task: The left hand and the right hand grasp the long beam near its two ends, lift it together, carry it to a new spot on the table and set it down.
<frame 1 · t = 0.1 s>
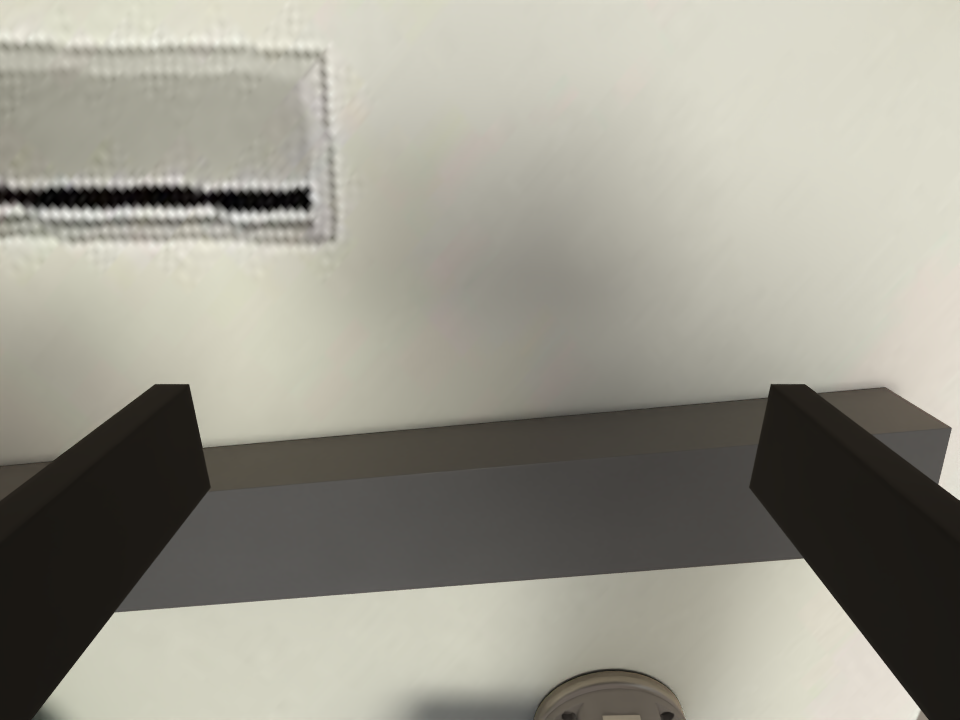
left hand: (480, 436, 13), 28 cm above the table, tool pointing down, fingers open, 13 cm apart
long beam: (405, 484, 46), on the table
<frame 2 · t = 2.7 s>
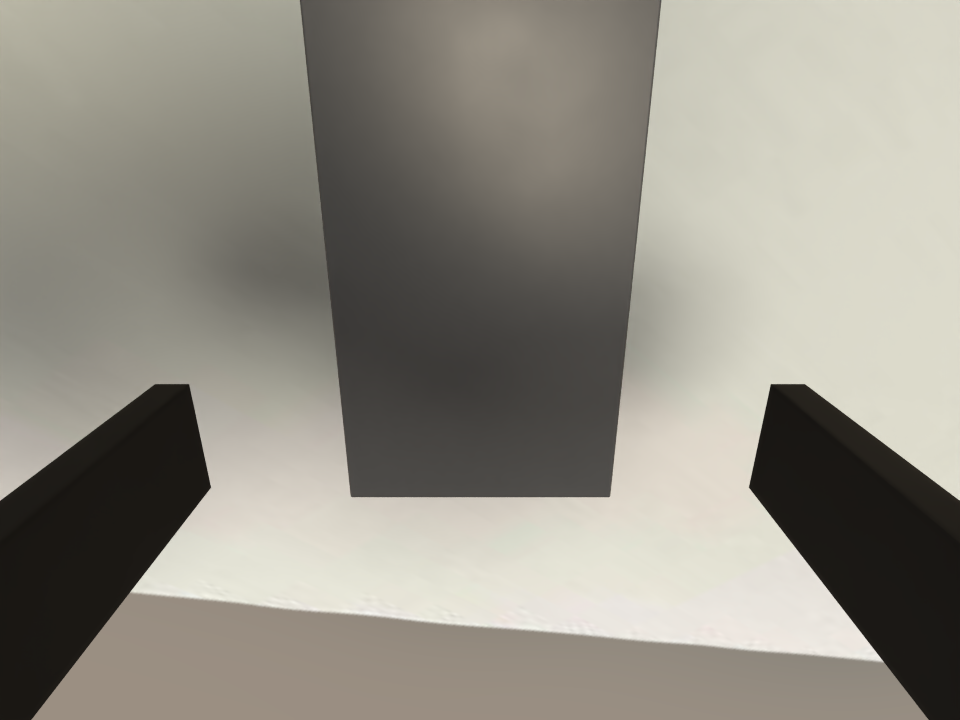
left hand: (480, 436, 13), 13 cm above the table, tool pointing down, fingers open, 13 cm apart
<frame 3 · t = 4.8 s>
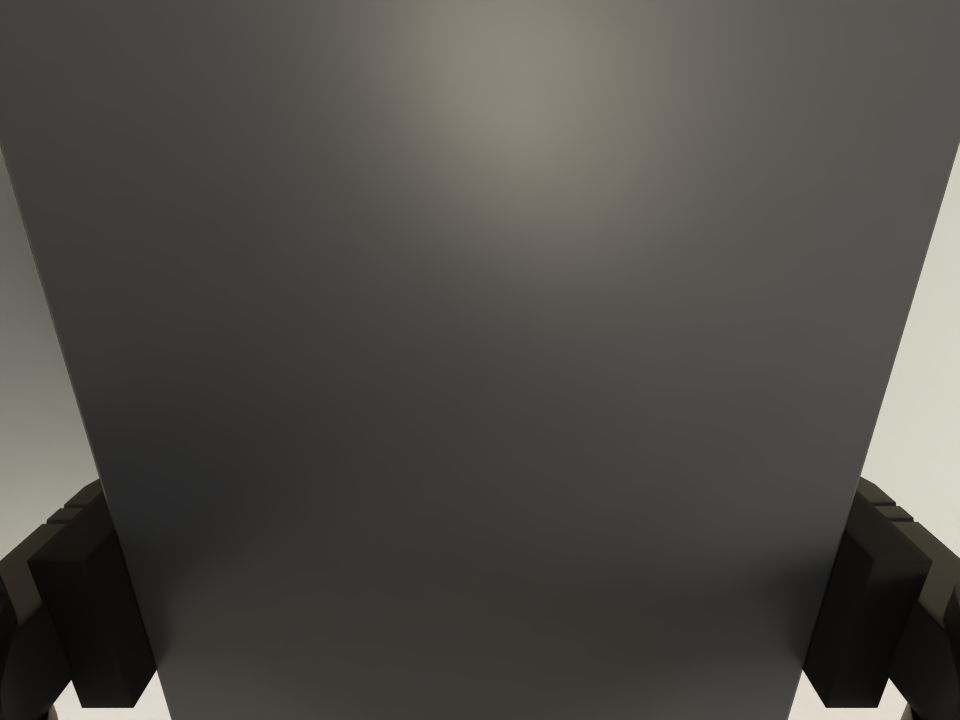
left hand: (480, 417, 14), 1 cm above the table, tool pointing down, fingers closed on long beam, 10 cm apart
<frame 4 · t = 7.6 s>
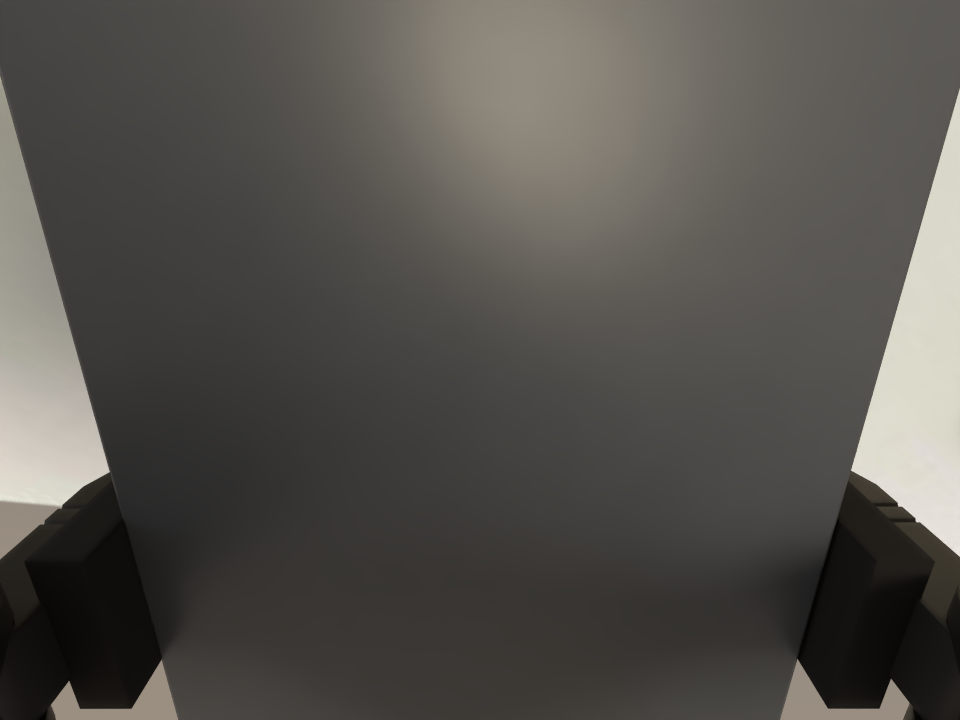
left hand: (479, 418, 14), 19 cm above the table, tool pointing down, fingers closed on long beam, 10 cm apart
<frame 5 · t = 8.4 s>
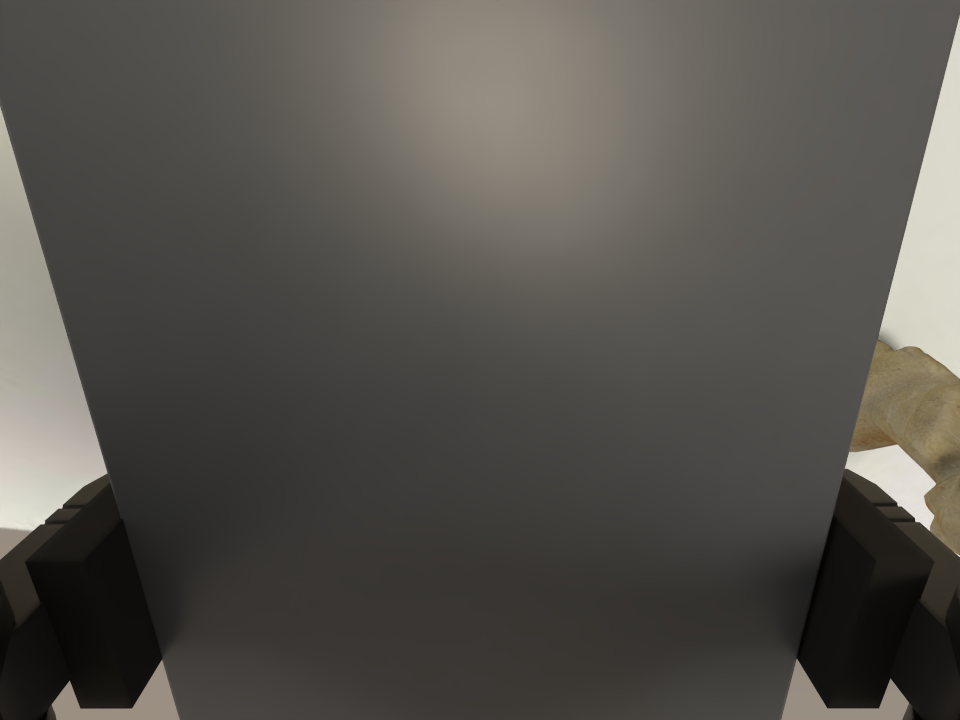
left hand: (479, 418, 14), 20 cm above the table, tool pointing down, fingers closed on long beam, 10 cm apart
sculpture: (843, 382, 35), on the table
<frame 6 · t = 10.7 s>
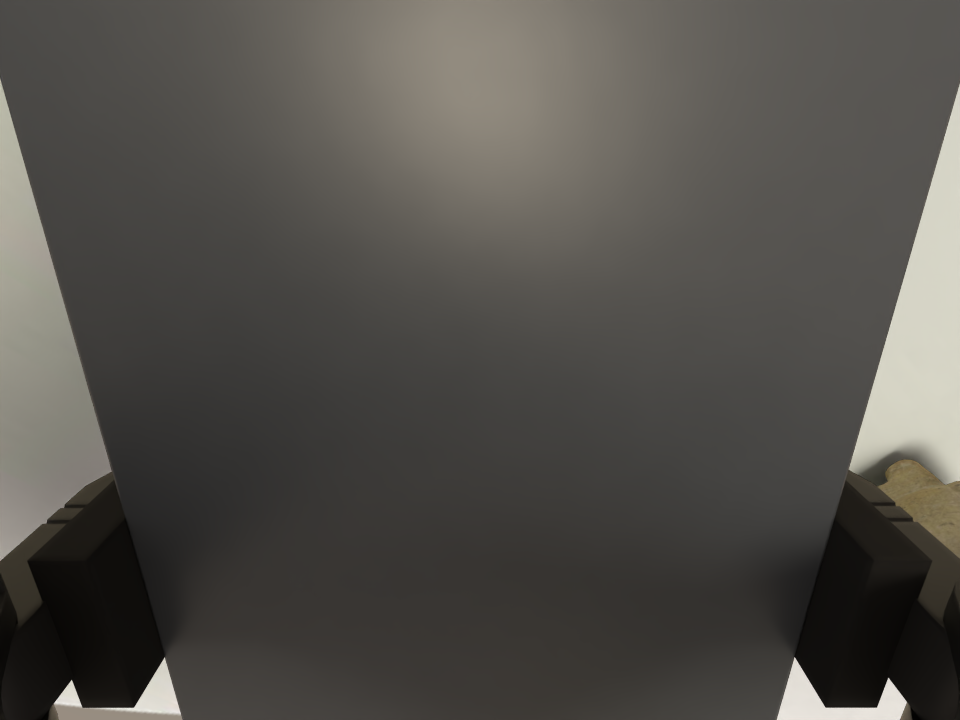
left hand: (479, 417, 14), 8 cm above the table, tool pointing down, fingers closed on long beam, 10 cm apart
sculpture: (860, 511, 25), on the table
when the left hand's fingers open (2 cm above the table, at t = 12.3 s): long beam drops 1 cm, on the table.
when the right hand's fingers open (2 cm above the table, at t = 12.3 s): long beam drops 1 cm, on the table.
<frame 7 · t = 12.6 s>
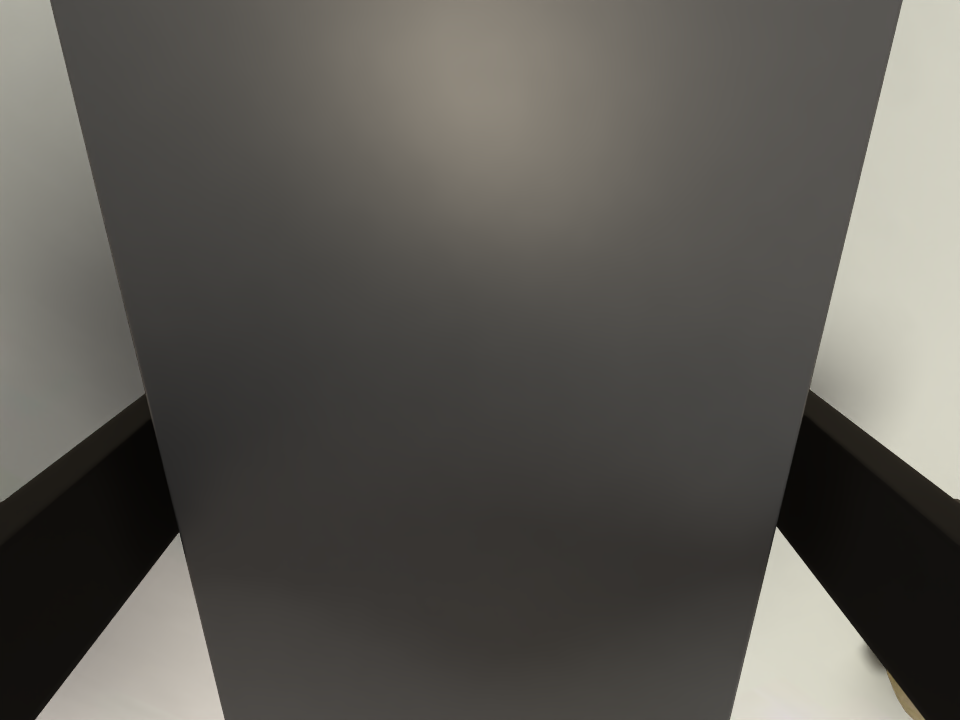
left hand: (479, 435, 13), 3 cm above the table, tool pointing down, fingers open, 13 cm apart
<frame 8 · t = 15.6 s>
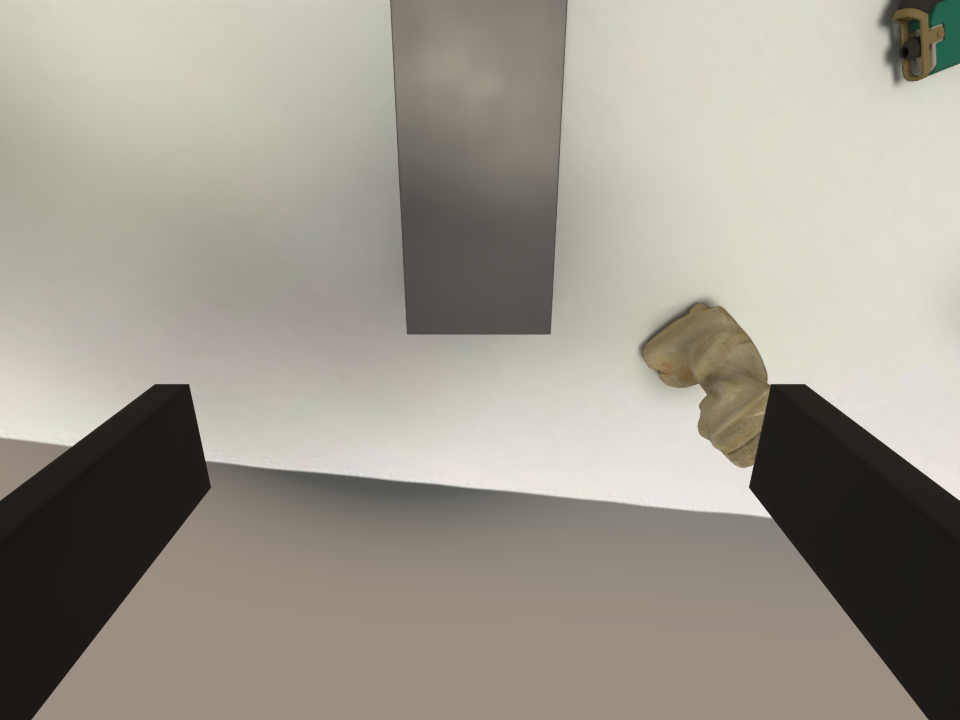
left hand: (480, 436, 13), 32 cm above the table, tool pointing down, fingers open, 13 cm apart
sculpture: (682, 337, 46), on the table
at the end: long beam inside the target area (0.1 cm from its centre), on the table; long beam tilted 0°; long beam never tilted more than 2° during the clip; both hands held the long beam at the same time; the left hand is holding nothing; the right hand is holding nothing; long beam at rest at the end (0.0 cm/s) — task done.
